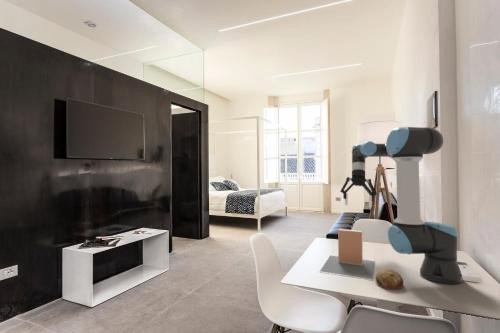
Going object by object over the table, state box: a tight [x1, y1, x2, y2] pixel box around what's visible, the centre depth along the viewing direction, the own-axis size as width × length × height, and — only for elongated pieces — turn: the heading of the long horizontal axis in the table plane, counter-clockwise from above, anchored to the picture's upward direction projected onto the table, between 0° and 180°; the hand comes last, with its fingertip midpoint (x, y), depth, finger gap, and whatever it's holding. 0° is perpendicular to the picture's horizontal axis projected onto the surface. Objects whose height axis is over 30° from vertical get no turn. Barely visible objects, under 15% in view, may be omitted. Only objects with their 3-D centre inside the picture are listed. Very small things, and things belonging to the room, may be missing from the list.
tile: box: [337, 228, 364, 265], centre depth 139 cm, size 3×11×16 cm, turn 64°
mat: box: [319, 255, 376, 281], centre depth 135 cm, size 26×22×1 cm
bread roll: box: [375, 268, 404, 291], centre depth 114 cm, size 10×10×8 cm
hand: (358, 205), depth 164 cm, fingers open, 13 cm apart
